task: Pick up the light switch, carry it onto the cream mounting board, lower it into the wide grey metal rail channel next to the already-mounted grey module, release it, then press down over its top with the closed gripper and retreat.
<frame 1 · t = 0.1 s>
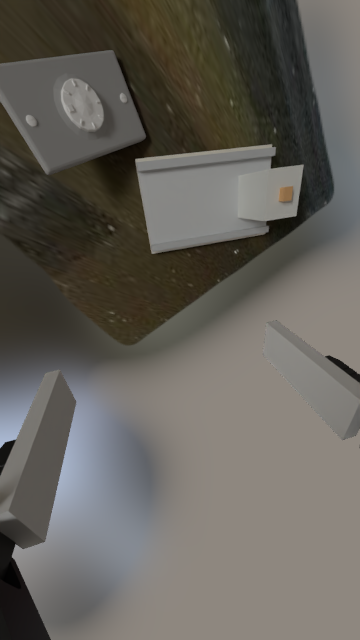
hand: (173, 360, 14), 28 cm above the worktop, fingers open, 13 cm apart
rail board: (206, 201, 36), on the worktop
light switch: (85, 122, 28), on the worktop
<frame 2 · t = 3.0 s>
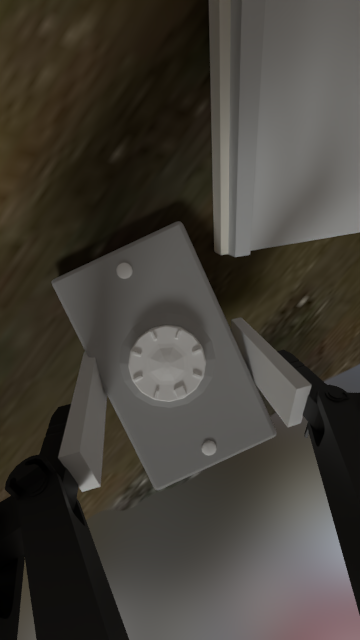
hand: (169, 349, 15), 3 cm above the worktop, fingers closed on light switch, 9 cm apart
rail board: (331, 17, 11), on the worktop
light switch: (159, 325, 17), on the worktop, touching gripper
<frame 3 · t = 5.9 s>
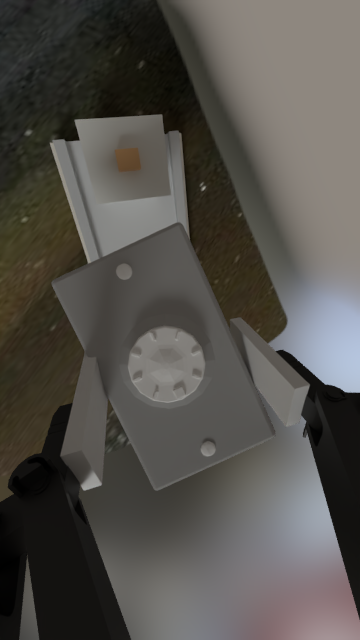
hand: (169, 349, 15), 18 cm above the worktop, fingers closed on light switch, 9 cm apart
rail board: (138, 244, 28), on the worktop
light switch: (158, 326, 17), point 15 cm above the worktop, touching gripper
when the fingers open (5 cm above the worktop, at t = 8.7 s): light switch stays where it is, resting on rail board.
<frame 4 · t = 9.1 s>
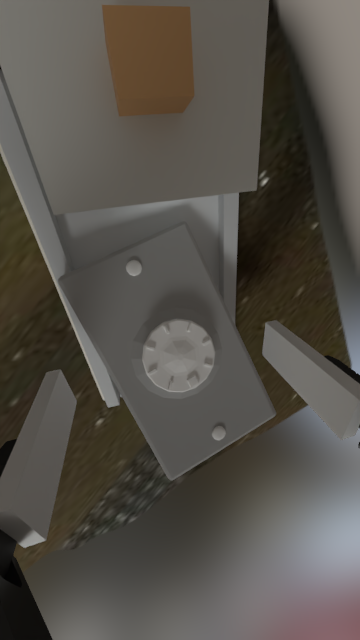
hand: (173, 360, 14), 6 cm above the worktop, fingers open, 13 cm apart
rail board: (151, 275, 17), on the worktop
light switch: (159, 322, 17), point 1 cm above the worktop, touching rail board
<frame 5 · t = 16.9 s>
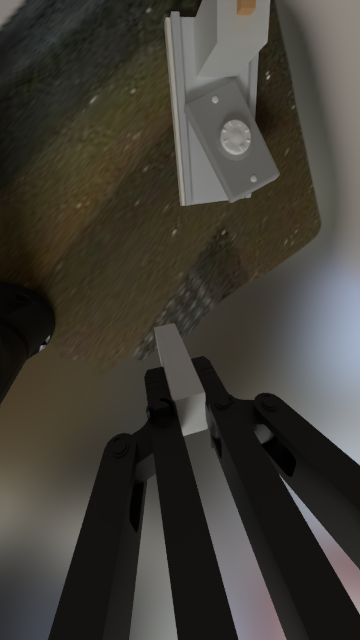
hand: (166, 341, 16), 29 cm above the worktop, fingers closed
rail board: (213, 126, 34), on the worktop
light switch: (218, 148, 35), point 1 cm above the worktop, touching rail board
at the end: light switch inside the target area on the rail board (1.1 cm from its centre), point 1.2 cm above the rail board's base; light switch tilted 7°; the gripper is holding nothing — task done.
